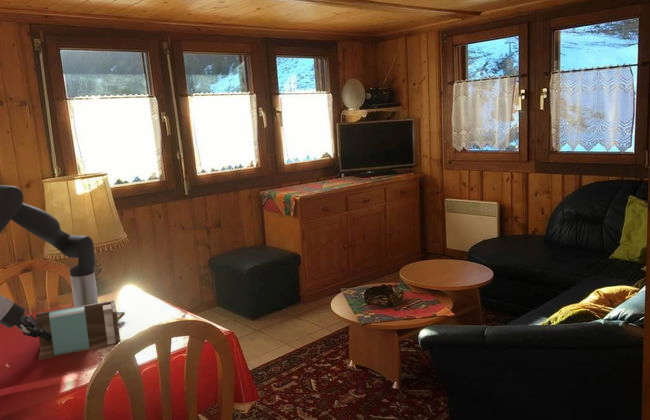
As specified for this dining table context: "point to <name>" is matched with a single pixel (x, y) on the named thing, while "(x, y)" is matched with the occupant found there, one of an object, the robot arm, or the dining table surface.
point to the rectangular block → (69, 330)
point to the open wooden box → (98, 326)
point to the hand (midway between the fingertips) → (50, 338)
